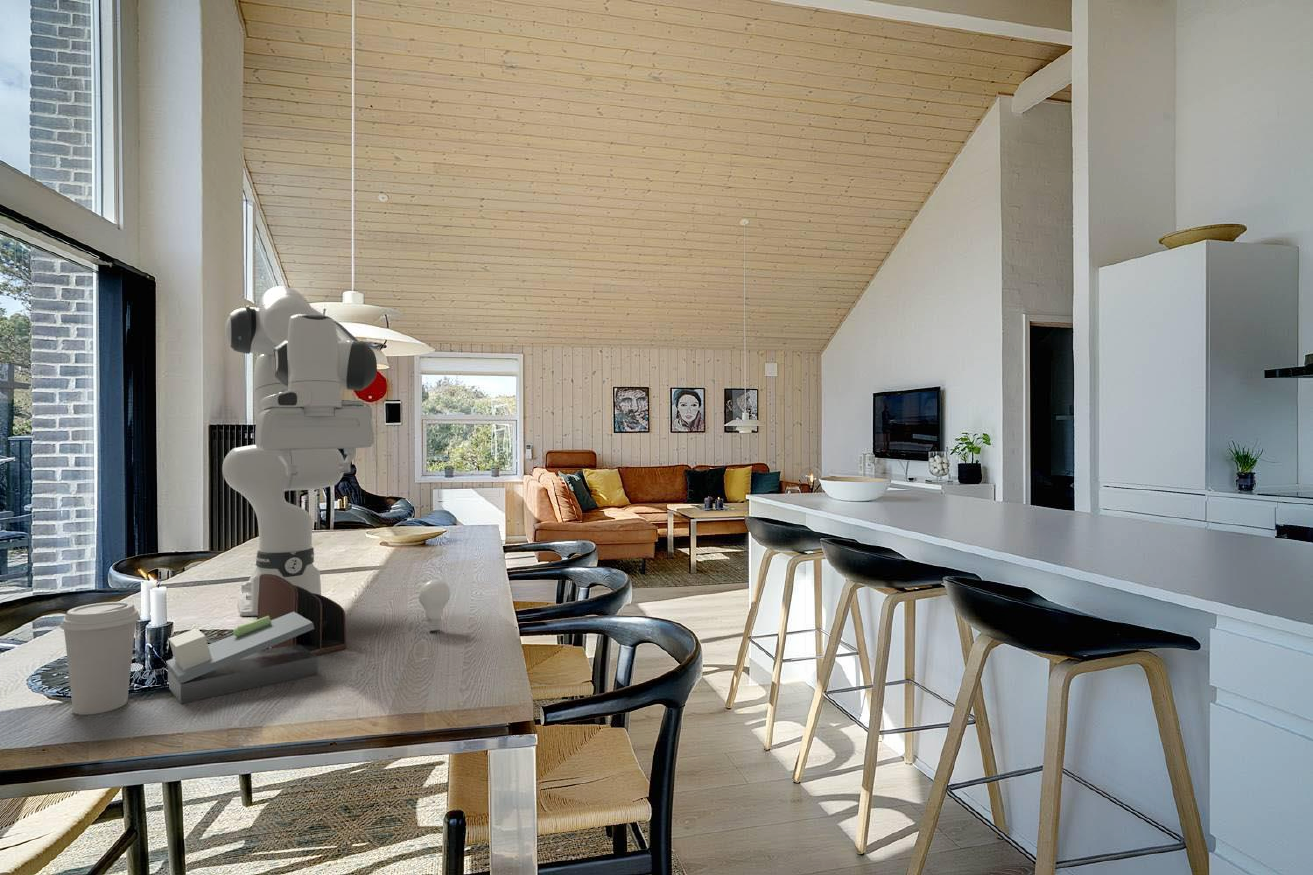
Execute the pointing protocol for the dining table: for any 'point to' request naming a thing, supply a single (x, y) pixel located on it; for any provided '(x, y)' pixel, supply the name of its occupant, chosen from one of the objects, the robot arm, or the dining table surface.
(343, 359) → the robot arm
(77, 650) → the coffee cup
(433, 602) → the lightbulb
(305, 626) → the tilted grey plate
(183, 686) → the base
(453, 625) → the dining table surface
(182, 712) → the dining table surface
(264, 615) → the letter holder
